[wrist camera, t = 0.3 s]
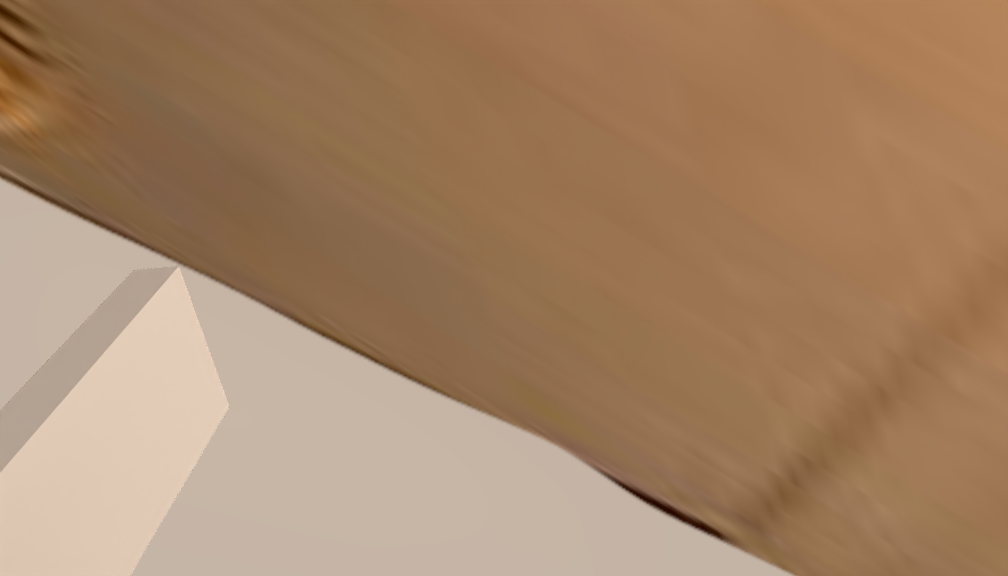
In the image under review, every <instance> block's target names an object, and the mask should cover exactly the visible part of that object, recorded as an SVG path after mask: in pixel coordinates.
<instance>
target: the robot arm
mask: <svg viewBox="0 0 1008 576" xmlns="http://www.w3.org/2000/svg"><path fill="white" fill-rule="evenodd" d="M228 408H229V404H228V402H227V399H226V396H225V393H224V390H223V388H222V385H221V382H220V379H219V376H218V374H217V371H216V368H215V365H214V363H213V360H212V357H211V354H210V351H209V348H208V346H207V343H206V340H205V337H204V335H203V332H202V329H201V327H200V324H199V321H198V318H197V315H196V312H195V310H194V307H193V304H192V301H191V298H190V296H189V293H188V290H187V287H186V284H185V282H184V279H183V276H182V273H181V271H180V268H179V266H176V267H164V268H154V269H143V270H142V269H141V270H133V271H132V273H131V274H130V275H129V276H128V277H127V278H126V279H125V280H124V281H123V282H122V283H121V284H120V285H119V286H118V287H117V288H116V290H114V292H113V293H112V294H111V295H110V296H109V297H108V298H107V299H106V300H105V301H104V302H103V303H102V304H101V305H100V306H99V307H98V308H97V309H96V310H95V311H94V313H93V314H92V315H91V316H90V317H89V318H88V319H87V320H86V321H85V322H84V323H83V324H82V325H81V326H80V327H79V328H78V329H77V330H76V331H75V332H74V333H73V335H72V336H71V337H70V338H69V339H68V340H67V341H66V342H65V343H64V344H63V345H62V346H61V347H60V348H59V349H58V350H57V351H56V353H54V355H53V356H52V357H51V358H50V359H49V360H48V361H47V362H46V363H45V364H44V365H43V366H42V367H41V368H40V369H39V371H37V372H36V373H35V374H34V375H33V377H32V378H31V379H30V380H29V381H28V382H27V383H26V384H25V385H24V386H23V387H22V388H21V389H20V390H19V391H18V392H17V393H16V394H15V395H14V397H13V398H12V399H11V400H10V401H9V402H8V403H7V404H6V405H5V406H4V407H3V408H2V409H1V410H0V576H131V574H132V572H133V571H134V569H135V567H136V566H137V564H138V562H139V560H140V559H141V557H142V555H143V554H144V552H145V550H146V548H147V547H148V545H149V543H150V542H151V540H152V538H153V536H154V535H155V533H156V531H157V530H158V528H159V526H160V525H161V523H162V521H163V519H164V518H165V516H166V514H167V513H168V511H169V509H170V507H171V506H172V504H173V502H174V500H175V499H176V497H177V496H178V494H179V492H180V490H181V489H182V487H183V485H184V484H185V482H186V480H187V478H188V477H189V475H190V473H191V472H192V470H193V468H194V467H195V465H196V463H197V461H198V460H199V458H200V456H201V455H202V452H203V451H204V449H205V448H206V446H207V444H208V442H209V441H210V439H211V438H212V436H213V434H214V432H215V431H216V429H217V427H218V426H219V424H220V422H221V420H222V419H223V417H224V415H225V414H226V412H227V410H228Z"/></svg>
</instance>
